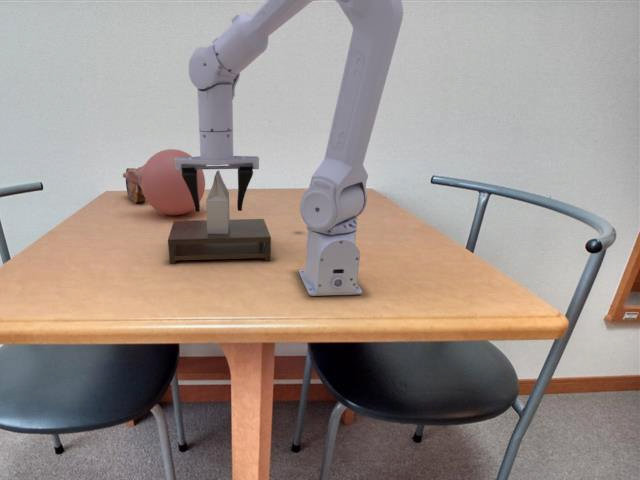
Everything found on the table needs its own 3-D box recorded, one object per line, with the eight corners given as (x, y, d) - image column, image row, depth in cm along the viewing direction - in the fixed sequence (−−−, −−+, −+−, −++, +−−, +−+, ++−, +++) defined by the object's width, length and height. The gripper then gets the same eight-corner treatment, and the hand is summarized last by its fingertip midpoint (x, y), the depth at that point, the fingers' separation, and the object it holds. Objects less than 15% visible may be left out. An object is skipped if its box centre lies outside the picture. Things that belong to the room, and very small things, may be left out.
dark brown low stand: (270, 260, 78) (270, 236, 76) (169, 263, 77) (167, 239, 75) (263, 240, 88) (263, 218, 87) (175, 242, 88) (173, 220, 86)
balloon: (138, 205, 116) (132, 145, 110) (211, 207, 114) (209, 145, 107) (116, 221, 103) (107, 153, 96) (199, 223, 100) (195, 154, 93)
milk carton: (229, 223, 84) (228, 170, 79) (227, 233, 78) (226, 176, 73) (210, 223, 84) (208, 170, 79) (207, 233, 78) (205, 176, 73)
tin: (126, 195, 128) (122, 166, 125) (136, 194, 129) (133, 165, 126) (137, 206, 116) (134, 173, 112) (149, 204, 117) (146, 173, 113)
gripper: (256, 128, 77) (256, 204, 83) (175, 129, 77) (180, 205, 83) (260, 131, 71) (259, 213, 77) (171, 132, 70) (177, 215, 76)
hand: (218, 210), depth 79 cm, fingers open, 7 cm apart
